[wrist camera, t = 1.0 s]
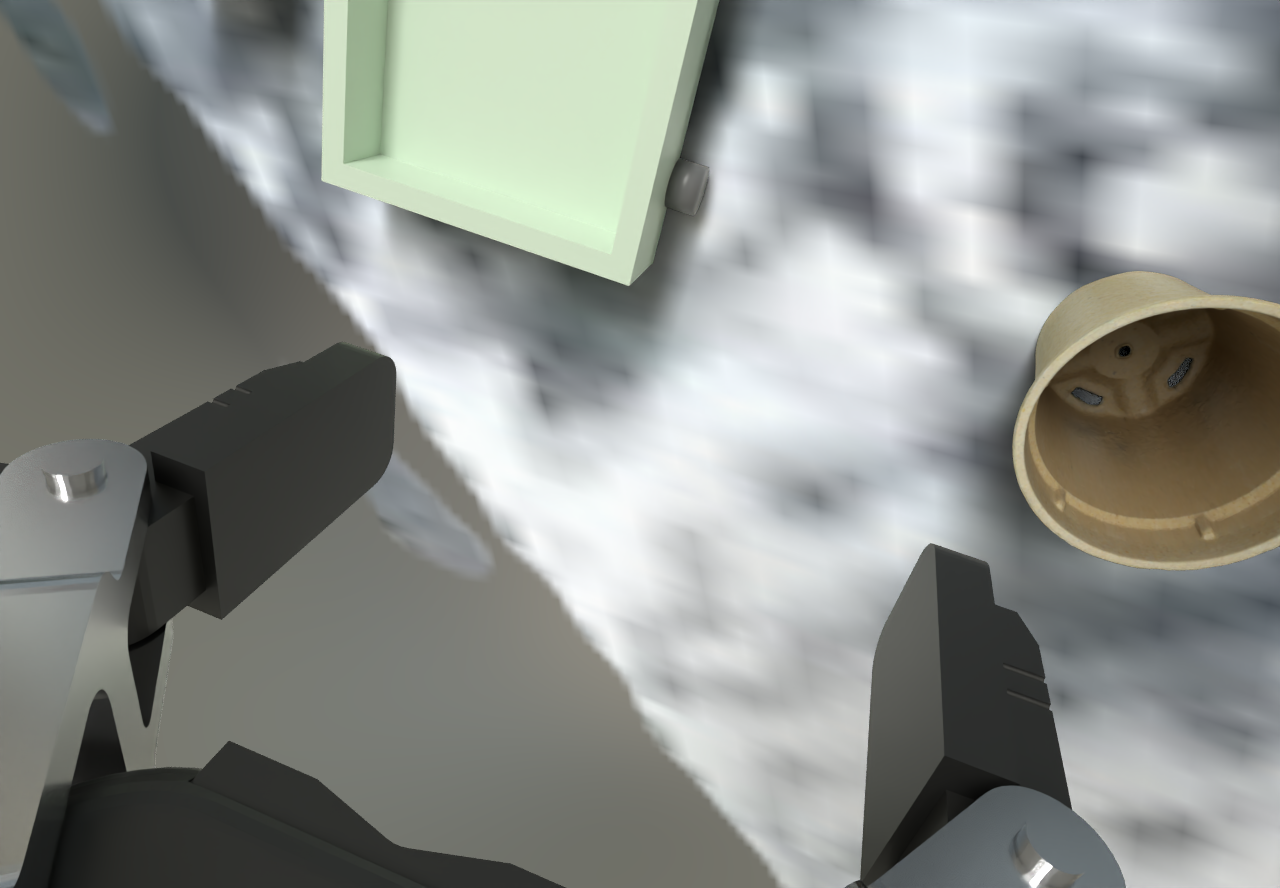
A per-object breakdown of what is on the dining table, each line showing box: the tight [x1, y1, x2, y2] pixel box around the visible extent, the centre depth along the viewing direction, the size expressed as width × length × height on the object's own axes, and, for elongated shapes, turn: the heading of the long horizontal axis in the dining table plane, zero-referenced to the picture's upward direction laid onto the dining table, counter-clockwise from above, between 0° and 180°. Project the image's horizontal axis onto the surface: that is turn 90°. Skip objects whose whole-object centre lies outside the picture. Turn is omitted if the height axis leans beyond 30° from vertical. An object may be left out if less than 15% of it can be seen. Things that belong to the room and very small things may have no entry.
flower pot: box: [1012, 271, 1280, 571], centre depth 28 cm, size 9×9×9 cm
